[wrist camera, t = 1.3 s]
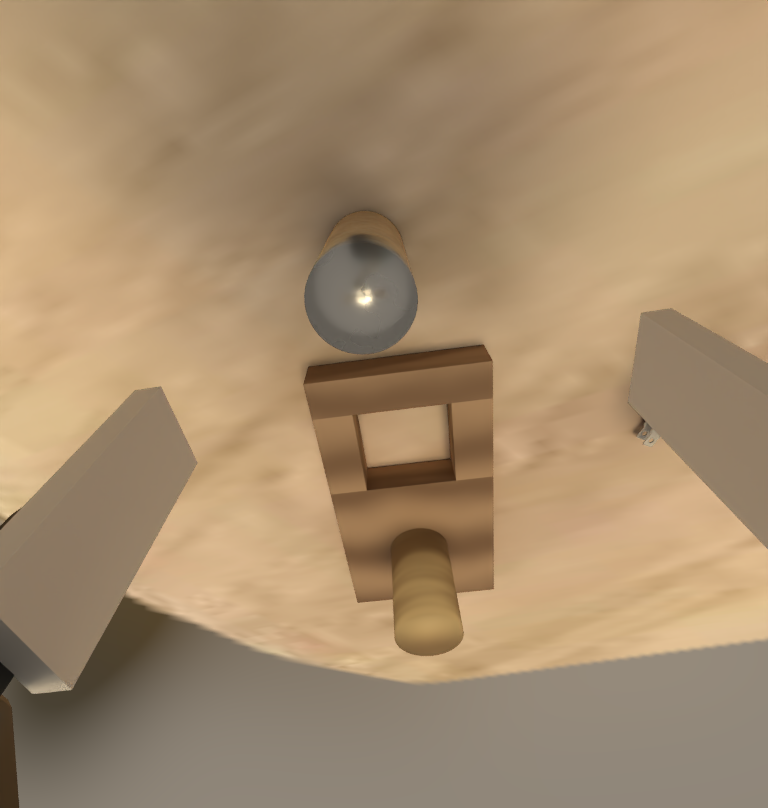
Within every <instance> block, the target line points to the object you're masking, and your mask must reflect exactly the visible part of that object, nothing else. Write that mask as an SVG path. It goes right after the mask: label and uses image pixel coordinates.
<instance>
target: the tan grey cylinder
mask: <svg viewBox="0 0 768 808" xmlns="http://www.w3.org/2000/svg"><path fill="white" fill-rule="evenodd" d="M304 298H305V308H306V312H307V316H308V318H309V321H310V323H311V325H312V326H313V328H314V329H315V331H316V332H317V333H318V335H319V336H320V337H321V338H322V339H323V340H325V341H326V342H327V343H328V344H330V345H332V346H333V347H335V348H337V349H339V350H341V351H345V352H348V353H353V354H372V353H377V352H380V351H383V350H385V349H387V348H389V347H391V346H393V345H394V344H396V343H397V342H398V341H399V340H400V339H401V338H402V337H403V336H404V335H405V334H406V333H407V331H408V330H409V329H410V327H411V325H412V323H413V321H414V318H415V315H416V311H417V304H418V295H417V288H416V285H415V281H414V278H413V275H412V271H411V268H410V265H409V261H408V258H407V255H406V251H405V248H404V245H403V242H402V238H401V235H400V233H399V231H398V230H397V228H396V227H395V225H394V224H393V223H392V222H391V221H390V220H389V219H387V218H386V217H385V216H383V215H381V214H379V213H376V212H372V211H358V212H354V213H351V214H349V215H347V216H345V217H344V218H342V219H341V220H340V221H339V222H338V223H337V224H336V225H335V227H334V228H333V230H332V232H331V234H330V236H329V237H328V239H327V241H326V243H325V245H324V247H323V249H322V251H321V253H320V255H319V257H318V259H317V261H316V263H315V265H314V267H313V269H312V271H311V273H310V275H309V277H308V280H307V283H306V287H305V295H304Z"/></svg>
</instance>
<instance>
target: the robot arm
mask: <svg viewBox="0 0 768 808" xmlns="http://www.w3.org/2000/svg"><path fill="white" fill-rule="evenodd" d="M628 403H629V404H630V405H631V406H632V408H633V409H634V410H635V411H636V412H637V413H638V414H639V415H640V416H641V417H642V418H643V419H644V420H645V421H646V422H647V423H648V424H649V425H650V426H651V427H652V428H653V430H654V431H655V432H656V433H657V434H658V435H659V436H660V437H661V438H662V439H663V440H664V441H665V442H666V443H667V444H668V445H669V446H670V447H671V448H672V449H673V450H674V451H675V453H676V454H677V455H678V456H679V457H680V458H681V459H682V460H683V461H684V462H685V463H686V464H687V465H688V466H689V467H690V468H691V469H692V470H693V471H694V472H695V473H696V475H697V476H698V477H699V478H700V479H701V480H702V481H703V482H704V483H705V484H706V485H707V486H708V487H709V488H710V489H711V490H712V491H713V492H714V493H715V494H716V495H717V497H718V498H719V499H720V500H721V501H722V502H723V503H724V504H725V505H726V506H727V507H728V508H729V509H730V510H731V511H732V512H733V513H734V514H735V515H736V516H737V517H738V519H739V520H740V521H741V522H742V523H743V524H744V525H745V526H746V527H747V528H748V529H749V530H750V531H751V532H752V533H753V534H754V535H755V536H756V537H757V538H758V539H759V541H760V542H761V543H762V544H763V545H764V546H765V547H766V548H767V549H768V363H766V362H764V361H763V360H761V359H759V358H757V357H756V356H754V355H752V354H750V353H749V352H747V351H745V350H743V349H742V348H740V347H738V346H736V345H735V344H733V343H731V342H729V341H728V340H726V339H724V338H722V337H721V336H719V335H717V334H715V333H714V332H712V331H710V330H708V329H707V328H705V327H703V326H701V325H700V324H698V323H696V322H694V321H693V320H691V319H689V318H687V317H686V316H684V315H682V314H680V313H679V312H677V311H675V310H673V309H672V308H670V309H663V310H657V311H650V312H644V313H641V316H640V323H639V330H638V337H637V344H636V351H635V357H634V364H633V371H632V378H631V385H630V392H629V399H628ZM196 465H197V461H196V458H195V456H194V454H193V452H192V450H191V448H190V446H189V444H188V442H187V440H186V438H185V436H184V433H183V431H182V429H181V427H180V425H179V423H178V421H177V419H176V417H175V415H174V413H173V411H172V409H171V406H170V404H169V402H168V400H167V398H166V396H165V394H164V392H163V390H162V388H161V387H154V388H147V389H141V390H135V391H134V392H133V393H132V394H131V395H130V396H129V397H128V398H127V399H126V400H125V401H124V402H123V403H122V404H121V405H120V407H119V408H118V409H117V410H116V411H115V412H114V413H113V414H112V415H111V416H110V417H109V418H108V419H107V420H106V421H105V422H104V423H103V424H102V425H101V426H100V427H99V428H98V429H97V430H96V431H95V432H94V433H93V435H92V436H91V437H90V438H89V439H88V440H87V441H86V442H85V443H84V444H83V445H82V446H81V447H80V448H79V449H78V450H77V451H76V452H75V453H74V454H73V455H72V456H71V457H70V458H69V459H68V460H67V461H66V463H65V464H64V465H63V466H62V467H61V468H60V469H59V470H58V471H57V472H56V473H55V474H54V475H53V476H52V477H51V478H50V479H49V480H48V481H47V482H46V483H45V484H44V485H43V486H42V487H41V488H40V489H39V491H38V492H37V493H36V494H35V495H34V496H33V497H32V498H31V499H30V500H29V501H28V502H27V503H26V504H25V505H24V506H23V507H22V508H20V509H19V510H18V511H16V512H15V513H13V514H12V515H11V516H10V517H9V518H8V519H7V520H6V521H5V522H4V523H3V524H2V525H1V526H0V808H19V799H18V785H17V772H16V759H15V745H14V732H13V718H12V707H11V705H10V703H9V701H8V699H6V698H5V697H4V696H3V695H2V693H3V692H4V690H5V689H6V687H7V686H8V684H9V683H10V681H11V680H12V678H13V677H15V678H16V679H17V680H18V681H19V682H20V683H21V684H22V685H24V686H25V687H26V688H27V689H28V690H29V691H30V692H31V693H32V694H36V693H45V692H55V691H65V690H72V688H73V686H74V685H75V683H76V681H77V679H78V677H79V675H80V674H81V672H82V670H83V668H84V666H85V665H86V663H87V661H88V659H89V657H90V656H91V654H92V652H93V650H94V649H95V647H96V645H97V643H98V641H99V639H100V638H101V636H102V634H103V632H104V631H105V629H106V627H107V625H108V623H109V621H110V620H111V618H112V616H113V614H114V613H115V611H116V609H117V607H118V605H119V603H120V601H121V600H122V598H123V596H124V594H125V593H126V591H127V589H128V587H129V585H130V584H131V582H132V580H133V578H134V576H135V575H136V573H137V571H138V569H139V567H140V566H141V564H142V562H143V560H144V558H145V557H146V555H147V553H148V551H149V549H150V548H151V546H152V544H153V542H154V540H155V539H156V537H157V535H158V533H159V531H160V530H161V528H162V526H163V524H164V522H165V521H166V519H167V517H168V515H169V513H170V512H171V510H172V508H173V506H174V504H175V503H176V501H177V499H178V497H179V495H180V494H181V492H182V490H183V488H184V486H185V485H186V483H187V481H188V479H189V477H190V476H191V474H192V472H193V470H194V468H195V467H196Z"/></svg>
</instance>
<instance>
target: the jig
mask: <svg viewBox="0 0 768 808" xmlns="http://www.w3.org/2000/svg"><path fill="white" fill-rule="evenodd" d="M303 385H304V389H305V393H306V397H307V401H308V405H309V409H310V413H311V417H312V421H313V425H314V429H315V433H316V437H317V441H318V445H319V449H320V453H321V457H322V461H323V465H324V469H325V473H326V477H327V481H328V485H329V489H330V493H331V497H332V501H333V505H334V509H335V513H336V517H337V521H338V525H339V529H340V533H341V537H342V541H343V545H344V549H345V553H346V557H347V561H348V565H349V570H350V574H351V578H352V582H353V586H354V590H355V594H356V598H357V602H358V603H360V602H370V601H380V600H390V599H393V611H394V634H395V641H396V643H397V645H398V646H399V647H400V648H401V649H402V650H404V651H406V652H408V653H410V654H414V655H419V656H433V655H439V654H443V653H446V652H448V651H450V650H452V649H454V648H455V647H456V646H458V645H459V643H460V642H461V641H462V639H463V635H464V632H463V626H462V621H461V616H460V610H459V605H458V599H457V594H456V593H460V592H470V591H480V590H490V589H494V548H493V361H492V359H491V357H490V355H489V354H488V352H487V350H486V348H485V346H484V345H478V346H471V347H463V348H455V349H447V350H439V351H431V352H423V353H415V354H407V355H399V356H391V357H383V358H375V359H367V360H359V361H352V362H344V363H336V364H328V365H320V366H312V367H308V371H307V374H306V377H305V381H304V384H303ZM441 404H447V408H448V424H449V439H450V454H451V459H446V460H437V461H428V462H420V463H411V464H402V465H393V466H385V467H376V468H367V464H366V459H365V453H364V448H363V443H362V437H361V432H360V427H359V421H358V416H357V415H358V414H366V413H375V412H383V411H391V410H400V409H408V408H416V407H425V406H433V405H441Z"/></svg>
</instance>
